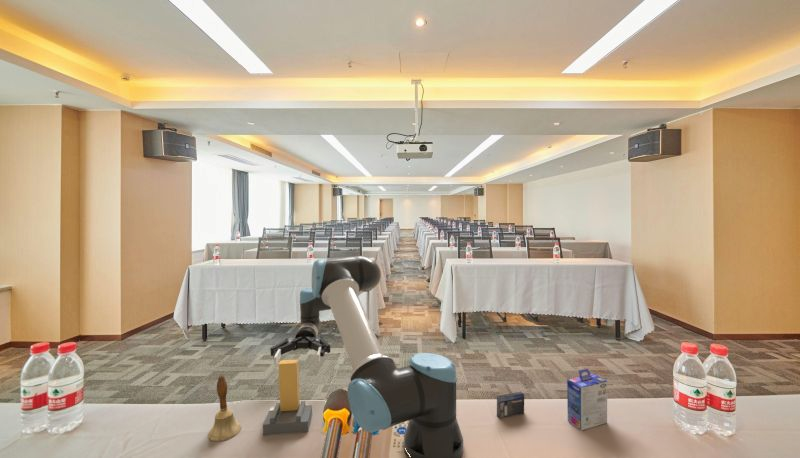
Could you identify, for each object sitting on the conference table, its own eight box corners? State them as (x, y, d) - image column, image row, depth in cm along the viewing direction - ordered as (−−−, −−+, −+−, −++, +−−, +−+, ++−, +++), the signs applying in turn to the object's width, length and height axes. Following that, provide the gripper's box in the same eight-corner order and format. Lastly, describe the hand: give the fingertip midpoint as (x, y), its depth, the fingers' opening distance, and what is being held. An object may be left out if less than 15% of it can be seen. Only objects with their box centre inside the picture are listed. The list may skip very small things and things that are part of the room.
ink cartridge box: (591, 412, 106) (592, 364, 105) (608, 423, 100) (609, 373, 99) (565, 419, 102) (566, 370, 101) (581, 431, 97) (582, 379, 96)
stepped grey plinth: (312, 414, 106) (311, 400, 106) (308, 431, 98) (307, 416, 98) (270, 417, 105) (270, 402, 105) (263, 435, 97) (262, 419, 97)
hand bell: (228, 443, 94) (225, 384, 93) (201, 439, 96) (197, 382, 95) (247, 424, 102) (245, 370, 101) (222, 421, 104) (219, 367, 103)
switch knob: (299, 405, 105) (298, 359, 104) (298, 410, 103) (296, 363, 102) (282, 406, 105) (280, 360, 104) (280, 411, 103) (278, 364, 102)
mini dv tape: (499, 418, 103) (499, 398, 103) (496, 415, 105) (496, 396, 104) (524, 413, 106) (524, 394, 105) (521, 410, 107) (521, 391, 107)
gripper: (339, 343, 139) (335, 368, 118) (273, 347, 136) (257, 373, 115) (339, 324, 138) (335, 346, 117) (272, 327, 136) (256, 351, 115)
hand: (296, 360), depth 116 cm, fingers open, 13 cm apart
